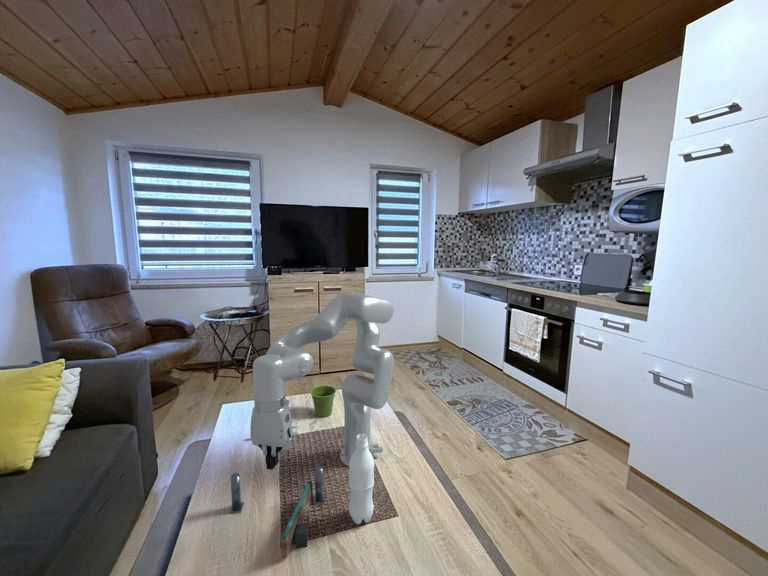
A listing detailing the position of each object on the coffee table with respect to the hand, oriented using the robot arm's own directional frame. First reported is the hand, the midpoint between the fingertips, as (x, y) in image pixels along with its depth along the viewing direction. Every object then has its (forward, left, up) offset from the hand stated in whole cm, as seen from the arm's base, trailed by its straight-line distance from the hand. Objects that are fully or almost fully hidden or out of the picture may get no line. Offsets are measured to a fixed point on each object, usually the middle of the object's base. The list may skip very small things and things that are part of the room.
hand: (272, 466), depth 88 cm
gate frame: (0, -1, -18) cm, 18 cm away
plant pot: (-12, -60, -19) cm, 64 cm away
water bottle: (-24, 0, -19) cm, 31 cm away
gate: (-7, +1, -18) cm, 19 cm away
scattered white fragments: (+7, -47, -19) cm, 51 cm away
